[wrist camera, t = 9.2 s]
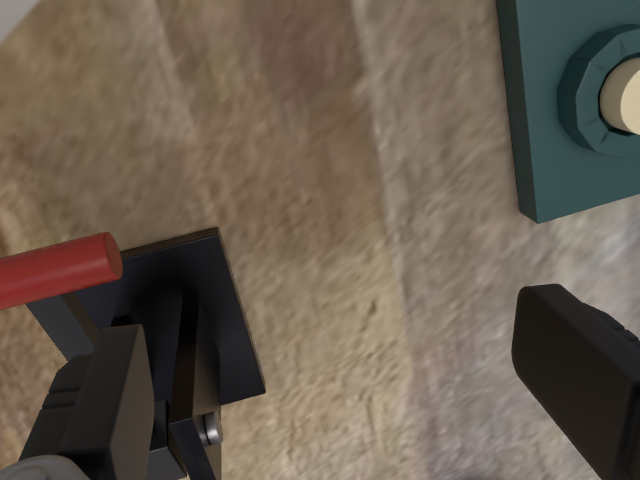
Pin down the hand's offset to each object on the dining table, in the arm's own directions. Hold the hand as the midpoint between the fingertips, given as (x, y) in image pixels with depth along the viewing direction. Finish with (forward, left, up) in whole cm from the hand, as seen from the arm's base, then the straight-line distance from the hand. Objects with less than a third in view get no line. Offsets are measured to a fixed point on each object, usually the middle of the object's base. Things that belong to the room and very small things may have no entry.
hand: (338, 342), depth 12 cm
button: (-7, +17, -17) cm, 26 cm away
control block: (-7, +17, -21) cm, 28 cm away
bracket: (+13, -3, -21) cm, 25 cm away
